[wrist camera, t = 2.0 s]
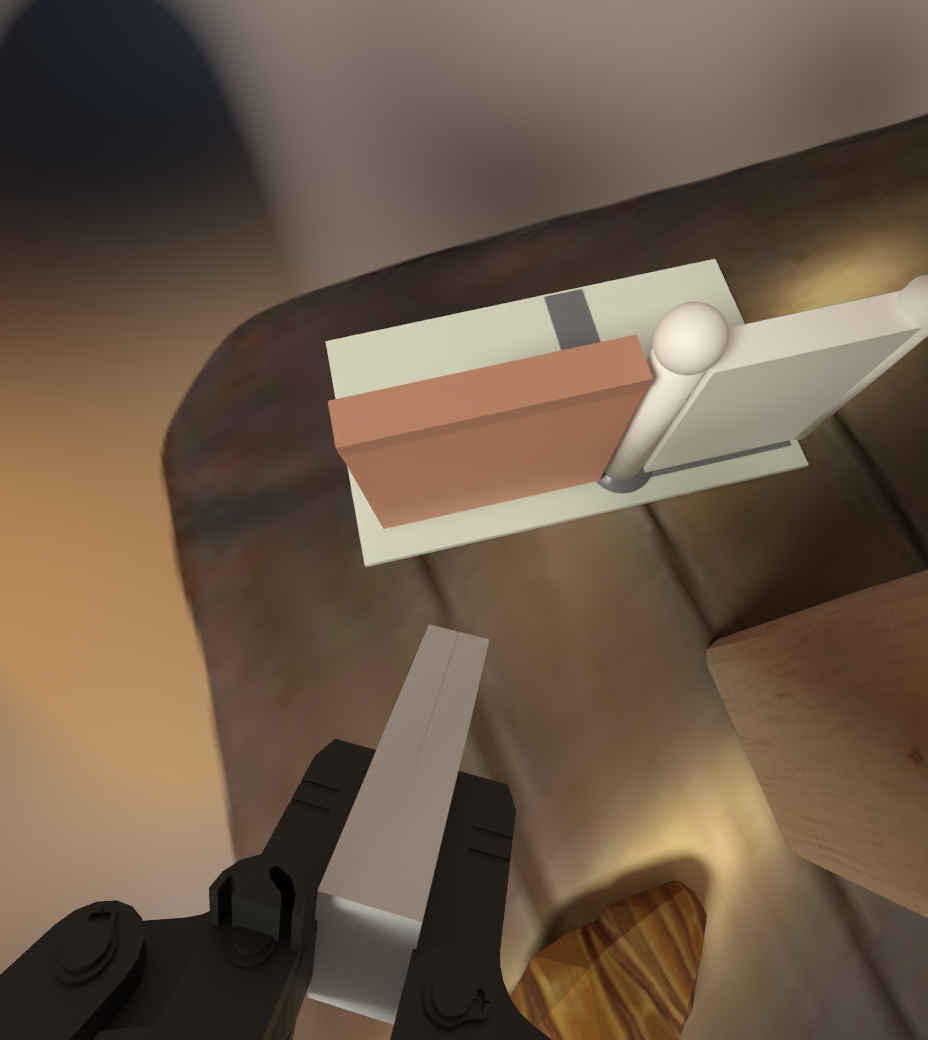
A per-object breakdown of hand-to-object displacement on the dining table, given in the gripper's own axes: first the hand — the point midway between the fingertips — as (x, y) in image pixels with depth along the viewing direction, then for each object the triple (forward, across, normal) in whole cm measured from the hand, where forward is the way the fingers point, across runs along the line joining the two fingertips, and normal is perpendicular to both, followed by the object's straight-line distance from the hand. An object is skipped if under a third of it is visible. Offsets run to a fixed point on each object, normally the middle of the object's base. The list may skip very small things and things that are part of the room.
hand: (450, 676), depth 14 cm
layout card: (+23, -1, -2) cm, 23 cm away
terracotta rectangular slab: (+18, +1, +2) cm, 18 cm away
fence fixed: (+22, -10, -2) cm, 24 cm away
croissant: (+4, -8, +19) cm, 21 cm away
